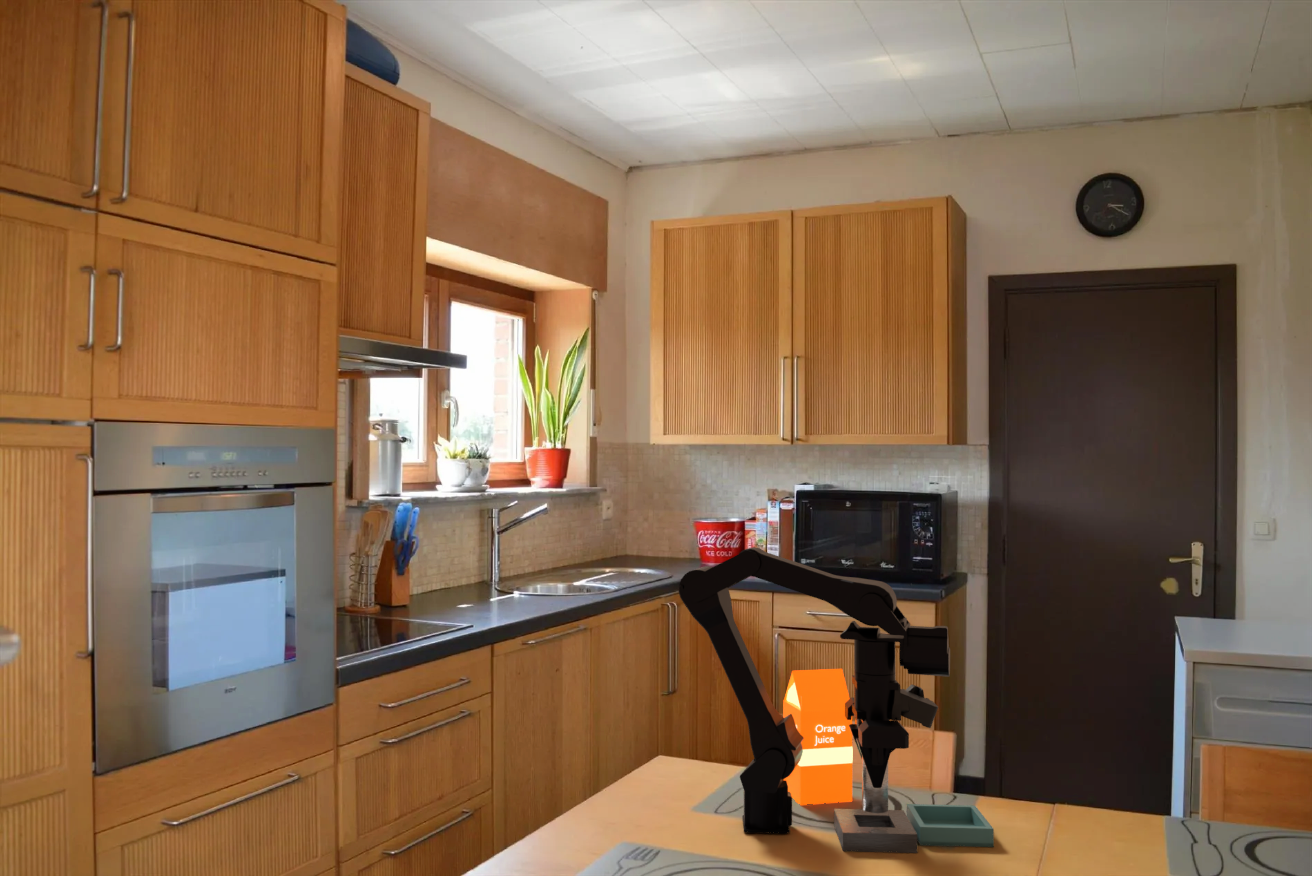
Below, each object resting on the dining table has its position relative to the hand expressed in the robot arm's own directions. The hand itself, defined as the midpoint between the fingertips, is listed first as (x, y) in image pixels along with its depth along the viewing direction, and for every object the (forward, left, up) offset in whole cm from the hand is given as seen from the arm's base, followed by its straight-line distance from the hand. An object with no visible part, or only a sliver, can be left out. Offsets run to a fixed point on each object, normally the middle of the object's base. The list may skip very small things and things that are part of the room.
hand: (874, 783), depth 147 cm
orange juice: (-6, +19, -8) cm, 21 cm away
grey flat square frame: (0, 0, -8) cm, 8 cm away
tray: (+11, +3, -8) cm, 14 cm away
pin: (0, 0, -4) cm, 4 cm away
